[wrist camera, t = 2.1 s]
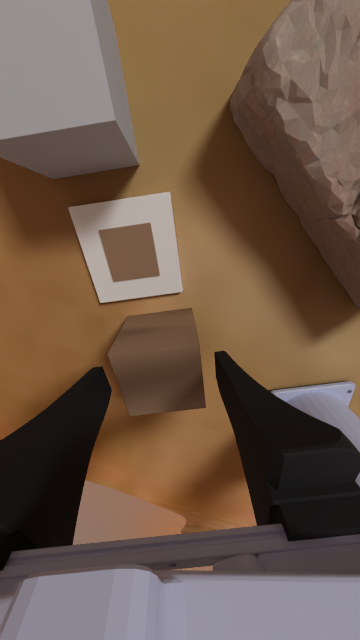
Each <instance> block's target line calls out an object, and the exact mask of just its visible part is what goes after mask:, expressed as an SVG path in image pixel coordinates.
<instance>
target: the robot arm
mask: <svg viewBox="0 0 360 640" xmlns="http://www.w3.org/2000/svg"><path fill="white" fill-rule="evenodd" d="M215 368H216V379H217V383H218V387H219V391H220V394H221V397H222V400H223V403H224V405H225V408H226V411H227V414H228V416H229V419H230V422H231V425H232V428H233V431H234V434H235V438H236V442H237V445H238V449H239V453H240V457H241V461H242V465H243V469H244V473H245V477H246V481H247V485H248V489H249V493H250V497H251V502H252V506H253V510H254V514H255V519H256V523H257V526H253V527H243V528H234V529H224V530H214V531H205V532H195V533H185V534H176V535H167V536H157V537H147V538H137V539H128V540H118V541H109V542H100V543H91V544H80V545H72V544H73V537H74V533H75V527H76V521H77V516H78V510H79V506H80V501H81V495H82V491H83V486H84V482H85V478H86V474H87V469H88V465H89V462H90V458H91V454H92V450H93V447H94V444H95V441H96V438H97V435H98V433H99V430H100V427H101V424H102V422H103V419H104V416H105V413H106V410H107V408H108V404H109V400H110V395H111V390H112V389H111V387H110V384H109V382H108V379H107V377H106V374H105V372H104V369H103V367H94V368H92V369H91V370H90V371H88V372H87V373H86V374H85V375H84V376H83V377H82V378H81V379H80V380H78V381H77V382H76V383H75V384H74V385H73V386H72V387H71V388H70V389H69V390H67V391H66V392H65V393H64V394H63V395H62V396H61V397H59V398H58V399H57V400H56V401H55V402H54V403H52V404H51V405H50V406H49V407H48V408H46V409H45V410H44V411H42V412H41V413H40V414H39V415H37V416H36V417H35V418H33V419H32V420H31V421H29V422H28V423H26V424H25V425H23V426H22V427H20V428H19V429H17V430H16V431H14V432H13V433H11V434H10V435H8V436H7V437H5V438H4V439H2V440H1V441H0V640H360V419H359V418H358V417H357V416H356V415H355V414H354V413H353V412H352V411H351V410H350V408H349V407H348V405H349V403H350V400H351V397H352V395H353V392H354V389H355V384H354V383H353V382H351V381H347V382H339V383H330V384H322V385H313V386H305V387H296V388H288V389H280V390H273V391H271V392H270V391H268V390H267V389H265V388H264V387H263V386H261V385H260V384H259V383H258V382H256V381H255V380H254V379H253V378H252V377H250V376H249V375H248V374H247V373H246V372H245V371H244V370H243V369H242V368H241V367H240V366H238V365H237V364H236V362H235V361H234V360H233V359H232V358H231V357H230V356H229V355H228V354H227V353H226V352H225V351H219V352H215ZM213 565H214V566H213ZM203 566H213V571H186V570H185V571H182V570H172V569H183V568H193V567H203Z"/></svg>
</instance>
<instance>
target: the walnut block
mask: <svg viewBox="0 0 360 640" xmlns="http://www.w3.org/2000/svg"><path fill="white" fill-rule="evenodd" d="M107 355H108V358H109V360H110V363H111V366H112V369H113V371H114V374H115V377H116V380H117V382H118V385H119V388H120V390H121V393H122V396H123V399H124V401H125V404H126V407H127V410H128V412H129V415H130V416H137V415H145V414H154V413H163V412H172V411H180V410H189V409H198V408H206V405H205V395H204V385H203V375H202V365H201V355H200V345H199V339H198V335H197V330H196V326H195V321H194V317H193V312H192V308H187V309H180V310H172V311H164V312H157V313H149V314H142V315H134V316H127V318H126V320H125V322H124V324H123V326H122V328H121V330H120V331H119V333H118V335H117V337H116V339H115V341H114V343H113V345H112V347H111V349H110V350H109V352H108V354H107Z"/></svg>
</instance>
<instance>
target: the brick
mask: <svg viewBox="0 0 360 640" xmlns="http://www.w3.org/2000/svg"><path fill="white" fill-rule="evenodd" d="M230 111H231V113H232V115H233V120H234V124H235V125H236V126H237V127H238V128H239V130H240V131H241V133H242V135H243V137H244V140H245V142H246V144H247V145H248V147H249V148H250V149H251V151H252V152H253V153H254V155H255V156H256V157H257V159H258V160H259V162H260V163H261V164H262V165H263V166H264V168H265V169H266V170H267V171H269V172H270V173H271V174H273V175H274V176H275V177H274V179H275V181H276V182H277V184H278V187H279V189H280V191H281V194H282V196H283V198H284V199H285V201H286V203H287V204H288V205H289V206H290V207H291V209H292V210H293V211H294V212H295V213H296V214H297V215H298V217H299V219H300V222H301V225H302V227H303V229H304V230H305V231H306V232H307V234H308V235H309V237H310V238H311V240H312V242H313V243H314V244H315V245H316V246H317V247H318V248H319V252H320V254H321V255H322V257H323V258H324V260H325V262H326V263H327V265H329V267H330V269H331V271H332V272H333V273H334V274H335V276H336V278H337V279H338V281H339V282H340V283H341V284H342V286H343V287H344V288H345V290H346V291H347V292H348V294H349V295H350V298H351V300H353V301H354V303H355V304H356V306H358V307H359V308H360V0H291V1H290V3H289V4H288V5H287V6H286V7H285V8H284V10H283V11H282V12H281V14H280V15H279V17H278V18H277V19H276V20H275V21H274V22H273V23H272V25H271V27H270V29H269V30H268V31H267V33H266V34H265V35H264V37H263V38H262V39H261V41H260V42H259V44H258V45H257V47H256V48H255V50H254V52H253V53H252V55H251V57H250V59H249V61H248V63H247V64H246V66H245V69H244V71H243V73H242V76H241V78H240V80H239V81H238V82H237V84H236V87H235V90H234V92H233V94H232V96H231V99H230Z"/></svg>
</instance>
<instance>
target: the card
mask: <svg viewBox="0 0 360 640" xmlns="http://www.w3.org/2000/svg"><path fill="white" fill-rule="evenodd" d="M68 209H69V212H70V215H71V218H72V221H73V224H74V227H75V230H76V233H77V236H78V239H79V242H80V245H81V248H82V251H83V254H84V256H85V259H86V262H87V265H88V268H89V271H90V274H91V277H92V280H93V283H94V286H95V289H96V292H97V295H98V298H99V301H100V303H105V302H112V301H119V300H127V299H134V298H141V297H149V296H156V295H164V294H171V293H178V292H183V289H182V281H181V273H180V266H179V258H178V250H177V242H176V235H175V227H174V219H173V211H172V204H171V196H170V192H165V193H158V194H152V195H145V196H139V197H132V198H125V199H119V200H112V201H106V202H99V203H93V204H86V205H80V206H73V207H68Z"/></svg>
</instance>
